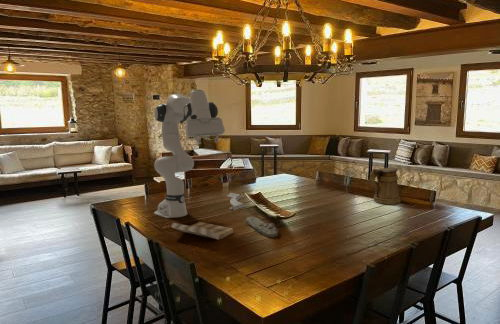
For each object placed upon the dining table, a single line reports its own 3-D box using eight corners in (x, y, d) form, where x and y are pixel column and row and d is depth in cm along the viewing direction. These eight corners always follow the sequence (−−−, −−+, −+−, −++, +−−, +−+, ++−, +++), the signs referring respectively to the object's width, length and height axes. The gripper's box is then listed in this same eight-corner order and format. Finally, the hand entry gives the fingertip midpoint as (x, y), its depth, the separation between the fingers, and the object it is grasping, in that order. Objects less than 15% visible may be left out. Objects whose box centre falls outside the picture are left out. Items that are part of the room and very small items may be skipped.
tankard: (405, 204, 276) (407, 169, 272) (376, 206, 270) (378, 171, 266) (390, 197, 293) (392, 165, 289) (362, 200, 287) (364, 167, 283)
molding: (226, 196, 305) (226, 192, 304) (242, 195, 306) (242, 191, 305) (229, 211, 263) (229, 207, 263) (246, 210, 264) (246, 206, 264)
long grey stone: (256, 221, 243) (242, 224, 239) (255, 213, 243) (241, 216, 239) (283, 236, 212) (267, 240, 208) (282, 226, 211) (266, 230, 207)
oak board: (186, 231, 221) (186, 227, 220) (199, 225, 231) (199, 221, 230) (220, 239, 208) (220, 234, 208) (232, 232, 218) (232, 228, 218)
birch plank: (171, 227, 210) (172, 222, 210) (184, 232, 219) (185, 227, 220) (206, 234, 197) (207, 229, 198) (218, 239, 207) (219, 235, 207)
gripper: (219, 119, 208) (224, 143, 205) (182, 122, 199) (187, 146, 196) (223, 114, 203) (228, 139, 199) (185, 116, 194) (190, 142, 190)
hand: (208, 142), depth 197 cm, fingers open, 8 cm apart
